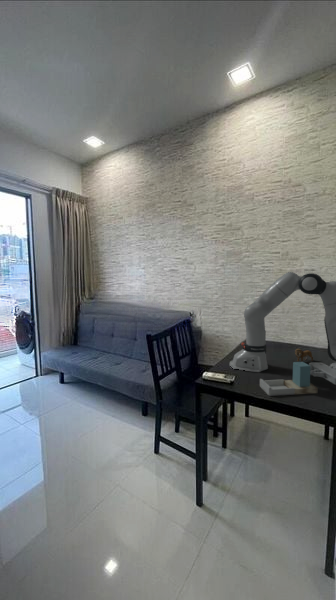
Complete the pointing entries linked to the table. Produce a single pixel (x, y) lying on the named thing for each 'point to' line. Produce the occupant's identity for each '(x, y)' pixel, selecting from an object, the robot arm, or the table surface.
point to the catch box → (276, 387)
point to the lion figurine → (303, 354)
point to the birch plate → (300, 389)
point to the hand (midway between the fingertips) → (311, 373)
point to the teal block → (301, 374)
